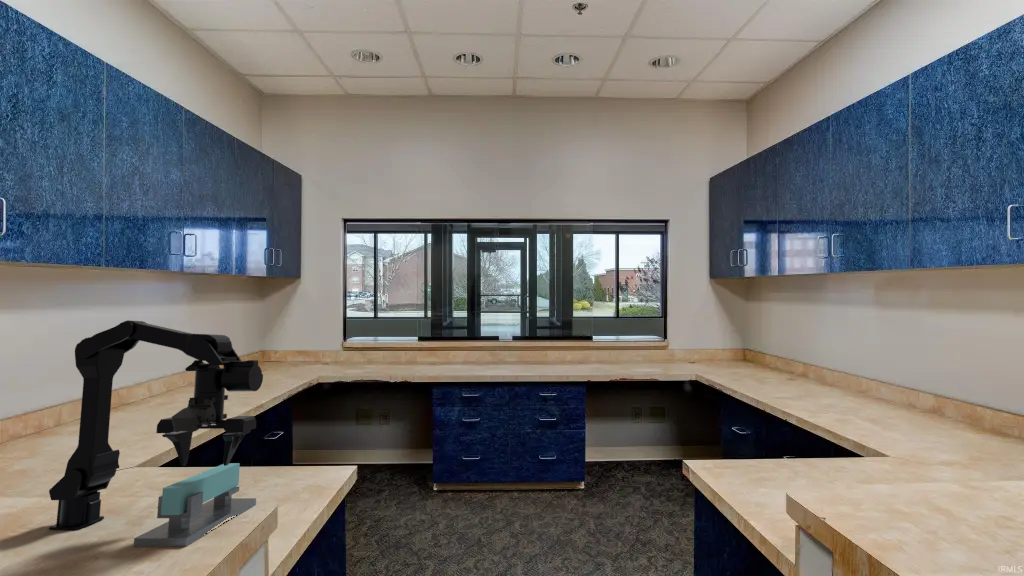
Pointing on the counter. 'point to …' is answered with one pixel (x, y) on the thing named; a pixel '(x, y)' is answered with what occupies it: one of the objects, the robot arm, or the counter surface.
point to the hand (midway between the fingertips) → (205, 465)
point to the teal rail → (199, 487)
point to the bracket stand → (194, 520)
